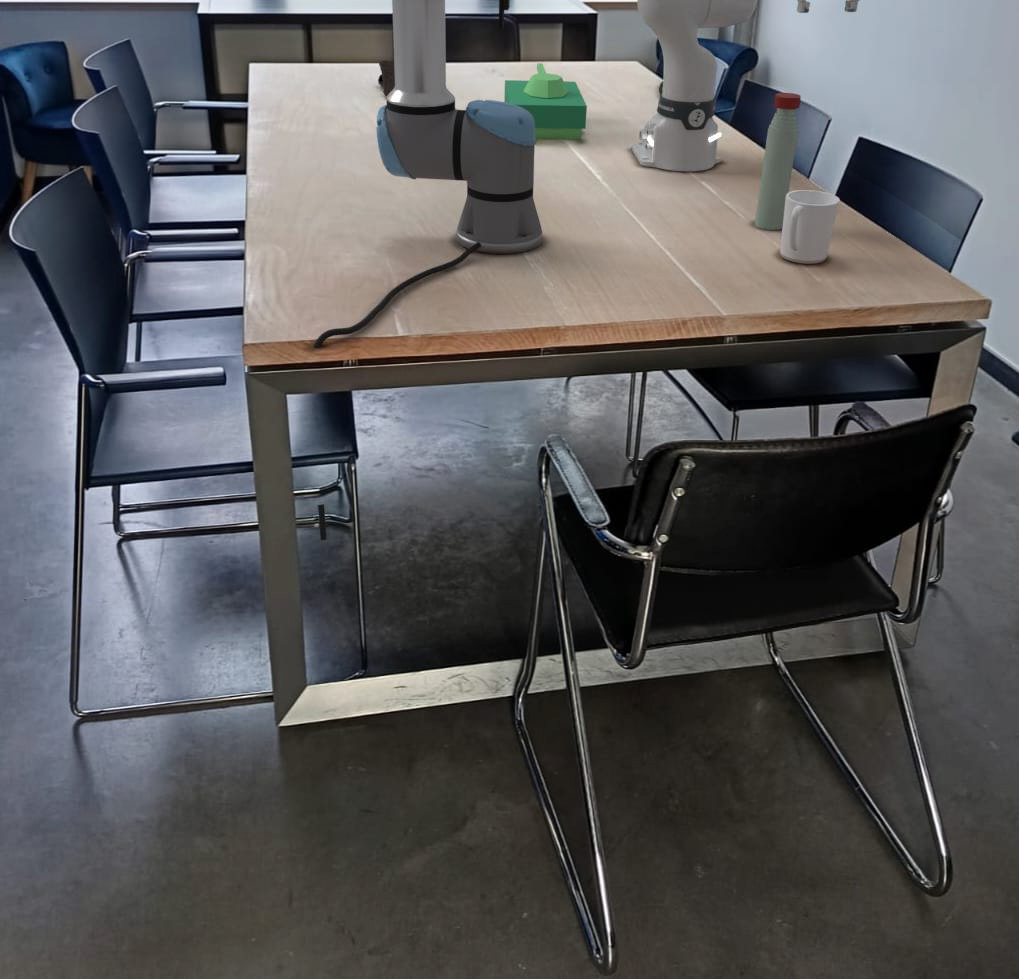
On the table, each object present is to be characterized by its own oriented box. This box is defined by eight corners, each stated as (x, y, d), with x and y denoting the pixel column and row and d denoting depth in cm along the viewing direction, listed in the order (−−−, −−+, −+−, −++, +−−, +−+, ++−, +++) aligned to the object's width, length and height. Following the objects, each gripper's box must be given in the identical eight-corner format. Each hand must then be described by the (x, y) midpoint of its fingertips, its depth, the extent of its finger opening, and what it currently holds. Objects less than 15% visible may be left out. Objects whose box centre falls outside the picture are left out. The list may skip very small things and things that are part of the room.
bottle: (761, 230, 204) (780, 101, 191) (750, 221, 208) (767, 94, 196) (788, 229, 205) (808, 100, 192) (775, 220, 209) (794, 94, 197)
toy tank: (573, 59, 279) (587, 89, 249) (570, 109, 285) (584, 143, 255) (503, 58, 278) (510, 87, 248) (502, 108, 284) (508, 142, 254)
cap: (780, 110, 193) (782, 98, 192) (769, 104, 196) (771, 93, 195) (803, 109, 194) (805, 97, 193) (792, 103, 197) (794, 92, 196)
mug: (791, 244, 197) (800, 186, 191) (837, 255, 192) (848, 197, 187) (762, 259, 190) (770, 200, 184) (809, 271, 185) (819, 211, 179)
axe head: (443, 87, 294) (392, 77, 287) (436, 115, 299) (385, 106, 292) (421, 62, 307) (371, 52, 300) (414, 89, 311) (365, 80, 304)
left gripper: (534, -91, 215) (530, 25, 226) (409, -94, 217) (412, 20, 229) (530, -88, 209) (526, 31, 220) (401, -92, 211) (405, 26, 222)
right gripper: (883, -76, 194) (869, 8, 201) (778, -76, 189) (767, 10, 196) (903, -74, 189) (887, 13, 196) (795, -74, 184) (783, 15, 191)
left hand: (468, 26), depth 224 cm, fingers open, 13 cm apart
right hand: (826, 12), depth 196 cm, fingers open, 8 cm apart
